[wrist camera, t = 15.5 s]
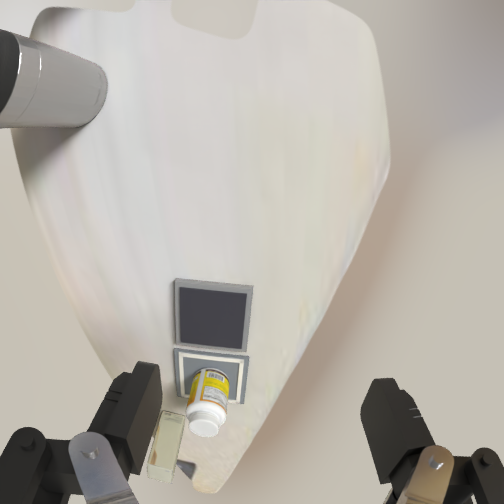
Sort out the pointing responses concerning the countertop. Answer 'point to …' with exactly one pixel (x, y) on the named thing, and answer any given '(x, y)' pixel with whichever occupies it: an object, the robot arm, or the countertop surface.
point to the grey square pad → (197, 360)
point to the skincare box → (165, 447)
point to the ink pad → (212, 314)
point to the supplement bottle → (207, 402)
